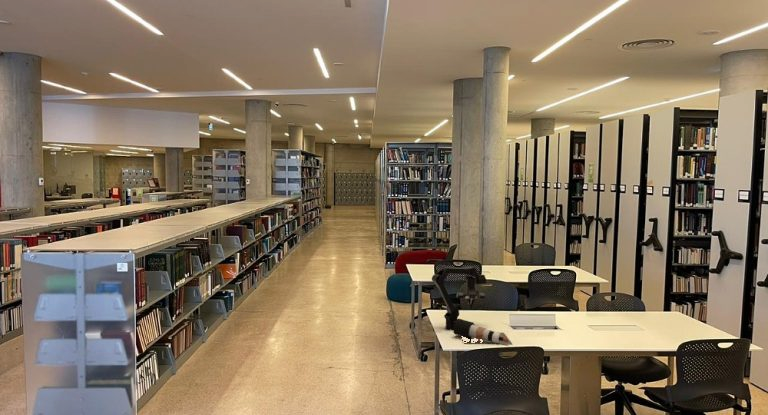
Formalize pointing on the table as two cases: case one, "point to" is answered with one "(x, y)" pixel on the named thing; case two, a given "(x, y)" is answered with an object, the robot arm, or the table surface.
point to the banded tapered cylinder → (476, 331)
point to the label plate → (490, 341)
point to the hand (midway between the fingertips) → (470, 308)
